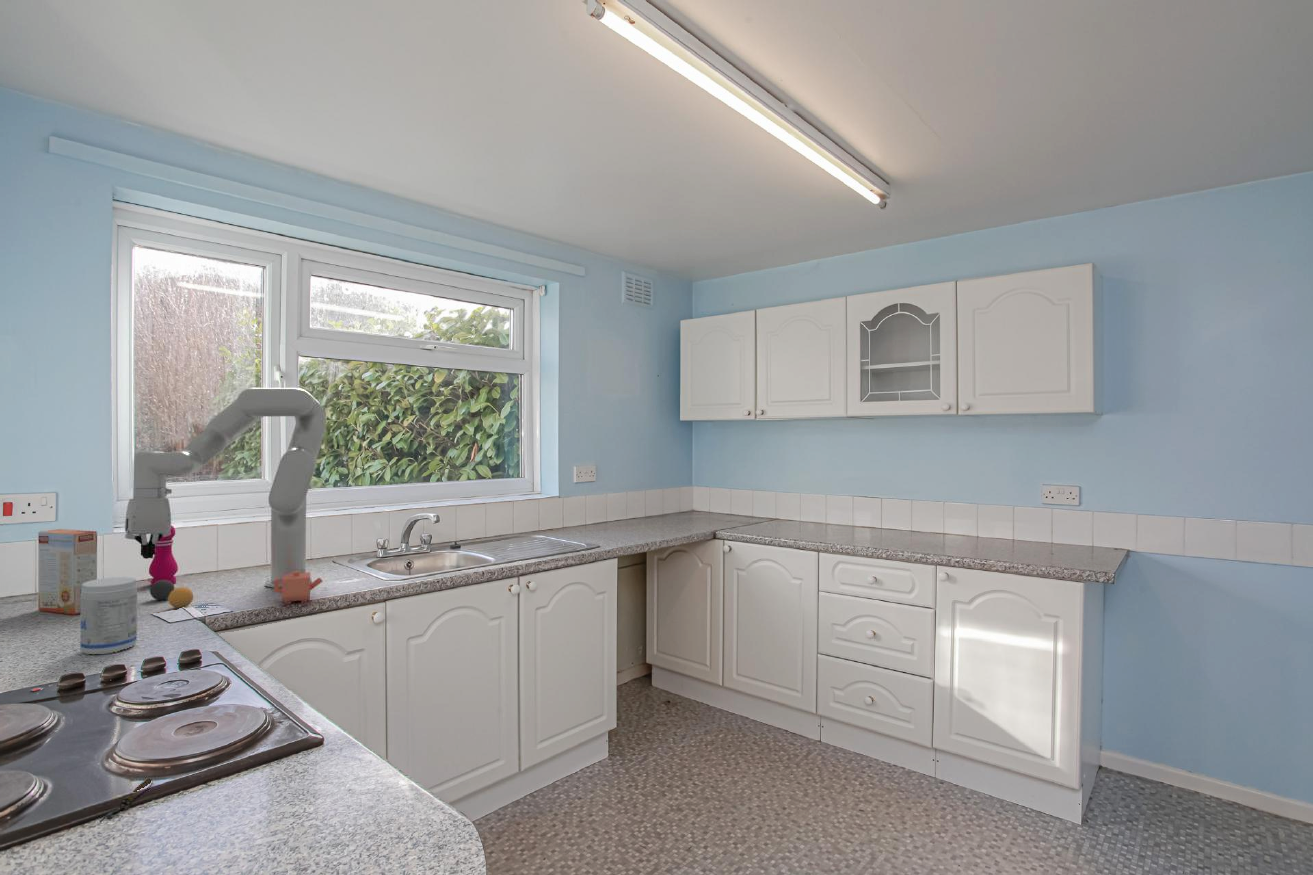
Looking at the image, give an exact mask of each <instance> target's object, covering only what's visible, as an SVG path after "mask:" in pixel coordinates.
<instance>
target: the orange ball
mask: <svg viewBox="0 0 1313 875" xmlns="http://www.w3.org/2000/svg"><path fill="white" fill-rule="evenodd" d="M167 599H168V600H167V601H168V604H170V607H172V608H174V609H178V608H182V607H189V605H190V604H191V603H192V602H193V600H194V593H193V591H192V590H191V589H190V588H188V587H185V586H179V587H176V588H174V590H173V591H171V593H170V594H169V597H168V598H167Z"/></svg>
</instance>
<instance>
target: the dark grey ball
mask: <svg viewBox="0 0 1313 875" xmlns="http://www.w3.org/2000/svg"><path fill="white" fill-rule="evenodd" d="M150 586H151V585H150ZM174 589H175V584H172V583H171V582H170V581H168V580H160V581H157V582H155V583H154V584H153V585H152V586H151V587H150V589H149V594H150V596H151V597H152V598H153V599H154V600H157V601H164V600H167V599H168V597H169V594H170V593H171V591H173V590H174Z"/></svg>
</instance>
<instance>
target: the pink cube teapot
mask: <svg viewBox="0 0 1313 875" xmlns="http://www.w3.org/2000/svg"><path fill="white" fill-rule="evenodd" d="M310 577H311V572H306V573H300V571H295V572H293V574H284V575H283V578H279V579H275V580H274V587H273V590H274V593H276V594H277V593H278V594H280V595H281V602H282V603H284V605H290V604H293V602H297V601H299V602H300V603H303V604H305V603H308V601H309V600H310V598H311V591H312V590H313V589H314V588H316V587H317V586H318V585H320V584H322V583H323V579H322V578H320V577H317V578H316V579H315V580H314V581H313V582H312V583H311V582H310ZM281 581H282V588H279V584H278V582H281Z"/></svg>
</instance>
